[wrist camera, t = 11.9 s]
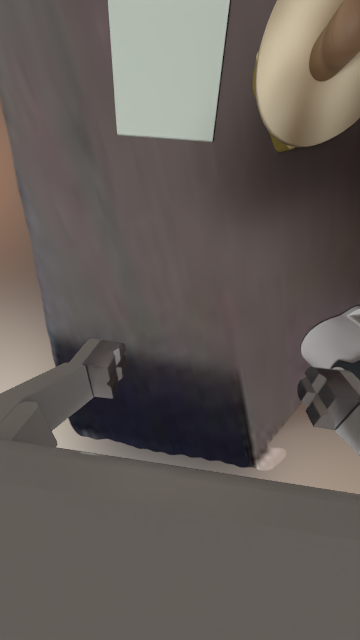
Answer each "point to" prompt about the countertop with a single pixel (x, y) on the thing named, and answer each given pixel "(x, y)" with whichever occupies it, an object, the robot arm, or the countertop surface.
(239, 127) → the countertop surface
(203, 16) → the mat
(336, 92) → the lid
